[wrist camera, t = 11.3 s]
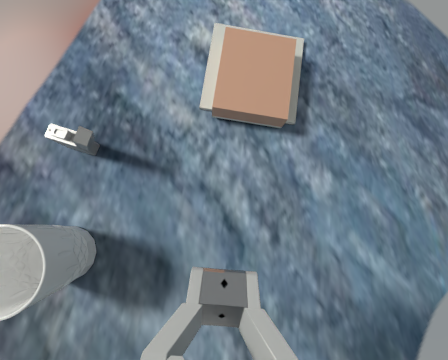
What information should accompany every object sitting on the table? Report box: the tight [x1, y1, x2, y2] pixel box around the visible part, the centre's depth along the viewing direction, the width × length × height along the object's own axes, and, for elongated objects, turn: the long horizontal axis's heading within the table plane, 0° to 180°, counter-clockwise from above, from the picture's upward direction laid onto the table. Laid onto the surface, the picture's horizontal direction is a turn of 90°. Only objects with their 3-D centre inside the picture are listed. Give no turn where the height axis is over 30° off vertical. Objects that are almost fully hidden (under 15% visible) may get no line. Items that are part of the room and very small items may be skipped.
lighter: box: [45, 124, 100, 156], centre depth 27 cm, size 7×2×8 cm, turn 73°
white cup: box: [0, 224, 97, 321], centre depth 24 cm, size 8×8×10 cm
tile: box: [212, 27, 297, 128], centre depth 32 cm, size 3×10×12 cm
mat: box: [200, 23, 304, 125], centre depth 34 cm, size 14×14×1 cm
